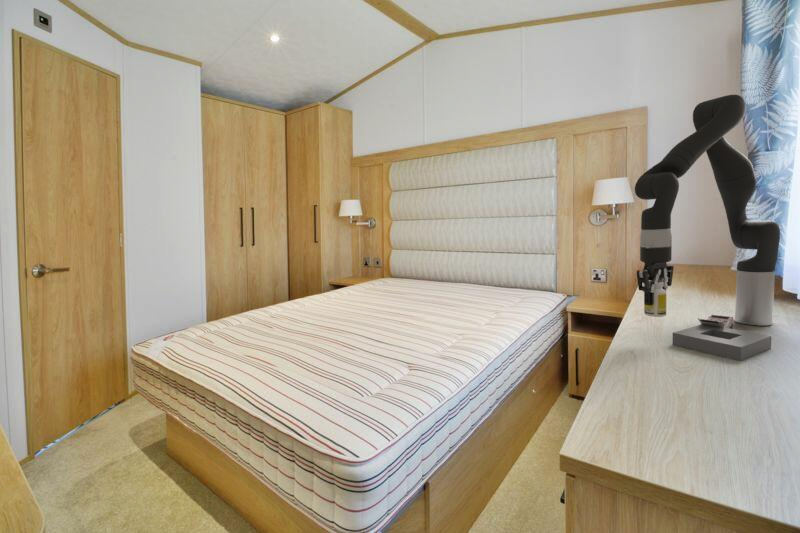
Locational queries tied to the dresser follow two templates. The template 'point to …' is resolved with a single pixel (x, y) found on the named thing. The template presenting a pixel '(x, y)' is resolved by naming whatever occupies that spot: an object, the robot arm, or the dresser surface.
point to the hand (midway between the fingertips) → (655, 303)
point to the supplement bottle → (657, 302)
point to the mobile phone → (718, 321)
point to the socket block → (722, 341)
